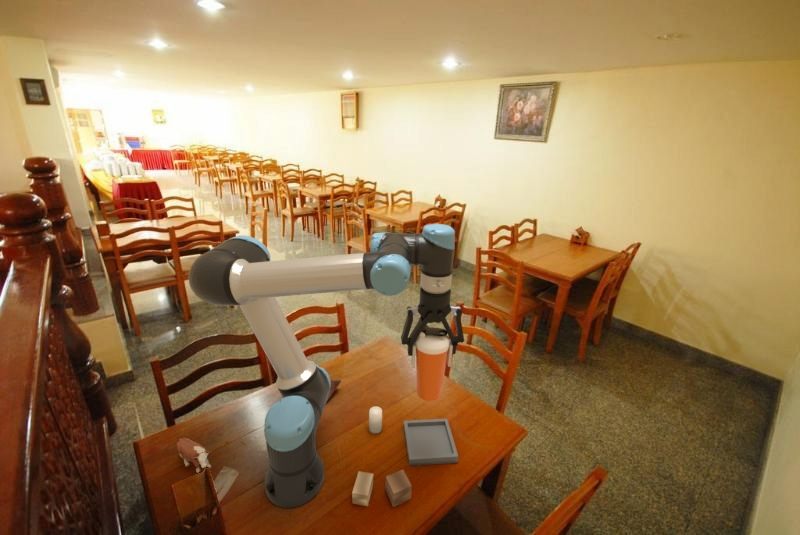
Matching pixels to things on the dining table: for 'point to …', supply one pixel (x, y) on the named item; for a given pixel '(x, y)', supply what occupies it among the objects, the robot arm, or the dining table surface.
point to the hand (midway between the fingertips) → (430, 363)
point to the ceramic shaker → (375, 419)
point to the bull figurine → (193, 453)
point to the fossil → (333, 386)
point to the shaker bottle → (431, 362)
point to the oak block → (362, 488)
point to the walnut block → (398, 488)
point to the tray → (429, 442)
